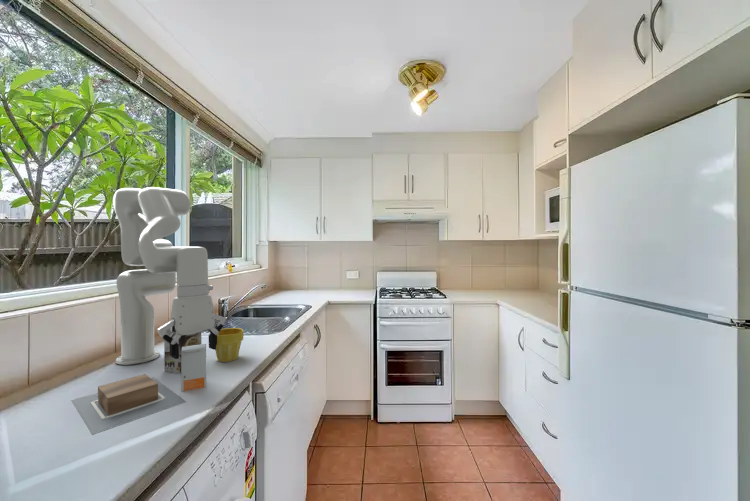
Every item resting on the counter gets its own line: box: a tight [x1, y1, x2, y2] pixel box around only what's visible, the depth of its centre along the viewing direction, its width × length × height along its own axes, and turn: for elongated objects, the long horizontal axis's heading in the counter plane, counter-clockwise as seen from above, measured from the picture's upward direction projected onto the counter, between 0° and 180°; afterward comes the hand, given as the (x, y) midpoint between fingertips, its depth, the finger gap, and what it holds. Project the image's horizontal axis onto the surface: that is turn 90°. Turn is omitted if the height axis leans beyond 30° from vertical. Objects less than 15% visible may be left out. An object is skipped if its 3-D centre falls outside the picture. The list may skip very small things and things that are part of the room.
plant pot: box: [214, 327, 244, 363], centre depth 114 cm, size 10×10×10 cm
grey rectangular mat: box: [70, 376, 187, 436], centre depth 81 cm, size 24×18×1 cm
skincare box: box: [180, 343, 207, 392], centre depth 90 cm, size 6×4×12 cm
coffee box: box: [163, 322, 203, 374], centre depth 104 cm, size 9×6×16 cm
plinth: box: [97, 373, 158, 416], centre depth 81 cm, size 10×10×4 cm
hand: (194, 353), depth 89 cm, fingers open, 9 cm apart
